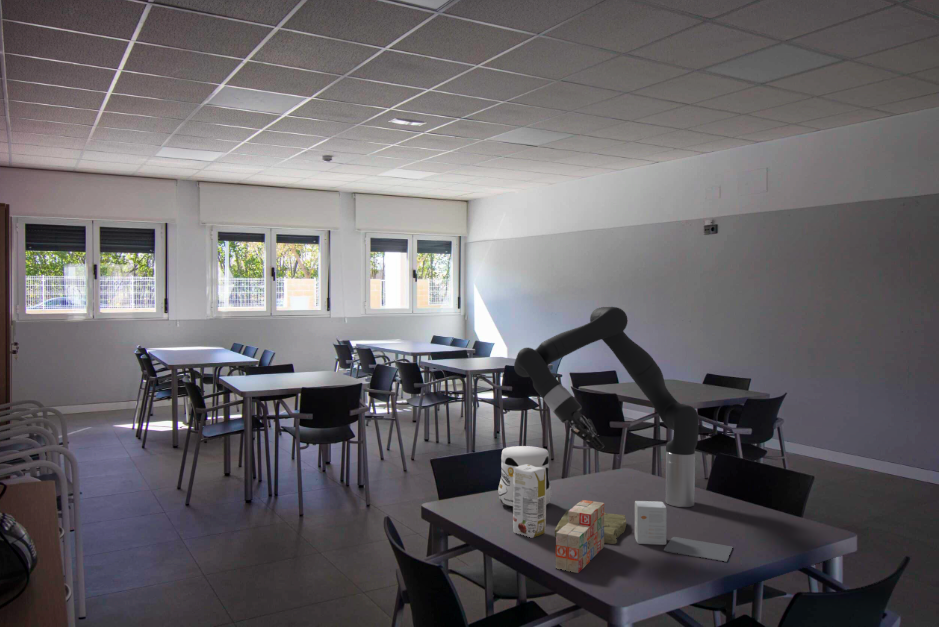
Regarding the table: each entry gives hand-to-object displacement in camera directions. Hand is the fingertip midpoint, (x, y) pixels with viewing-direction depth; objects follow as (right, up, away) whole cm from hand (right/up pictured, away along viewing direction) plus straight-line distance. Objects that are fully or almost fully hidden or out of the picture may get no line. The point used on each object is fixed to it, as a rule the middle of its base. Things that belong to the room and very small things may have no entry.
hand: (601, 448), depth 195 cm
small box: (+12, -25, -7) cm, 28 cm away
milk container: (-20, -24, +26) cm, 41 cm away
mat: (+24, -25, -13) cm, 36 cm away
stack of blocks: (-9, -25, -19) cm, 33 cm away
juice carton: (-21, -24, -1) cm, 32 cm away
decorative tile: (-2, -25, +2) cm, 25 cm away
